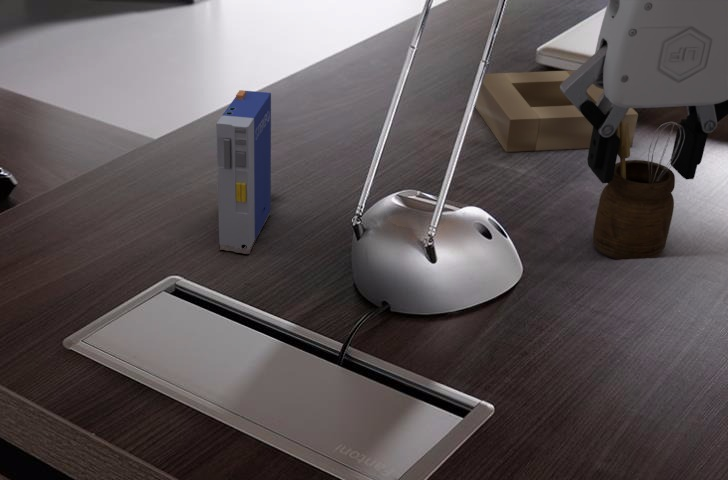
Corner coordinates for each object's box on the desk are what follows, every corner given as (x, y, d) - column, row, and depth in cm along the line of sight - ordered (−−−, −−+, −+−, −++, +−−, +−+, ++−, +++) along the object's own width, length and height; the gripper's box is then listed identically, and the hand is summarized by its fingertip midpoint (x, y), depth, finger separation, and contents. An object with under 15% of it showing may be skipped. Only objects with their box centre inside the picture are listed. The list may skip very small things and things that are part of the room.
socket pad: (587, 99, 121) (592, 69, 119) (632, 146, 110) (638, 113, 108) (472, 104, 120) (476, 74, 118) (505, 152, 109) (510, 119, 107)
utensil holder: (679, 255, 91) (711, 121, 84) (618, 271, 89) (645, 134, 83) (633, 225, 96) (660, 96, 89) (573, 239, 94) (596, 108, 87)
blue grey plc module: (241, 211, 99) (239, 86, 93) (270, 215, 99) (271, 88, 92) (217, 252, 93) (214, 120, 86) (248, 256, 92) (247, 123, 86)
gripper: (590, -35, 75) (551, 199, 85) (831, -43, 76) (765, 189, 86) (555, -61, 82) (523, 160, 91) (778, -69, 82) (723, 151, 92)
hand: (641, 172), depth 89 cm, fingers closed on utensil holder, 6 cm apart
